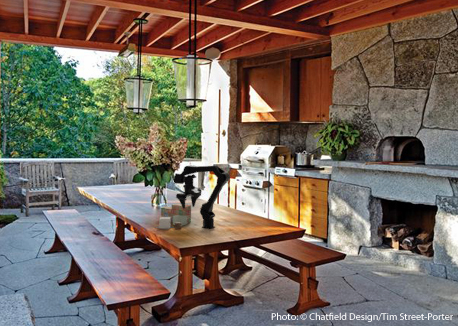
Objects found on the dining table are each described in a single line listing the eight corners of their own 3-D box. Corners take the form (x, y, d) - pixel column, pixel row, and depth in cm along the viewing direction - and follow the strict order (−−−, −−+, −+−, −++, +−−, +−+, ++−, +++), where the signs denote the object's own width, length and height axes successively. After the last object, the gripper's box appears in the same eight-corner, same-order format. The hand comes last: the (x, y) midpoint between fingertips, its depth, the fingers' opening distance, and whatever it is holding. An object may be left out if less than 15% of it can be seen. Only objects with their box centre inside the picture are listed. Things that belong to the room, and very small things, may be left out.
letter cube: (181, 228, 272) (181, 221, 272) (181, 229, 268) (181, 223, 268) (175, 228, 272) (175, 221, 272) (174, 229, 268) (174, 223, 268)
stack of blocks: (160, 220, 293) (160, 203, 292) (166, 219, 299) (166, 202, 298) (186, 224, 283) (186, 206, 282) (191, 222, 289) (191, 205, 288)
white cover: (170, 225, 275) (170, 216, 275) (169, 228, 269) (170, 219, 268) (160, 225, 275) (160, 216, 274) (159, 228, 268) (159, 219, 268)
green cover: (186, 224, 283) (187, 215, 282) (181, 226, 277) (181, 217, 276) (178, 223, 286) (178, 214, 286) (172, 224, 280) (172, 216, 280)
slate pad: (174, 227, 273) (174, 226, 273) (164, 230, 265) (164, 229, 265) (165, 225, 278) (165, 224, 278) (155, 227, 271) (155, 227, 271)
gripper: (188, 186, 265) (188, 211, 266) (207, 184, 280) (207, 207, 281) (175, 185, 272) (175, 209, 273) (194, 182, 287) (194, 205, 288)
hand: (188, 207), depth 279 cm, fingers open, 9 cm apart
